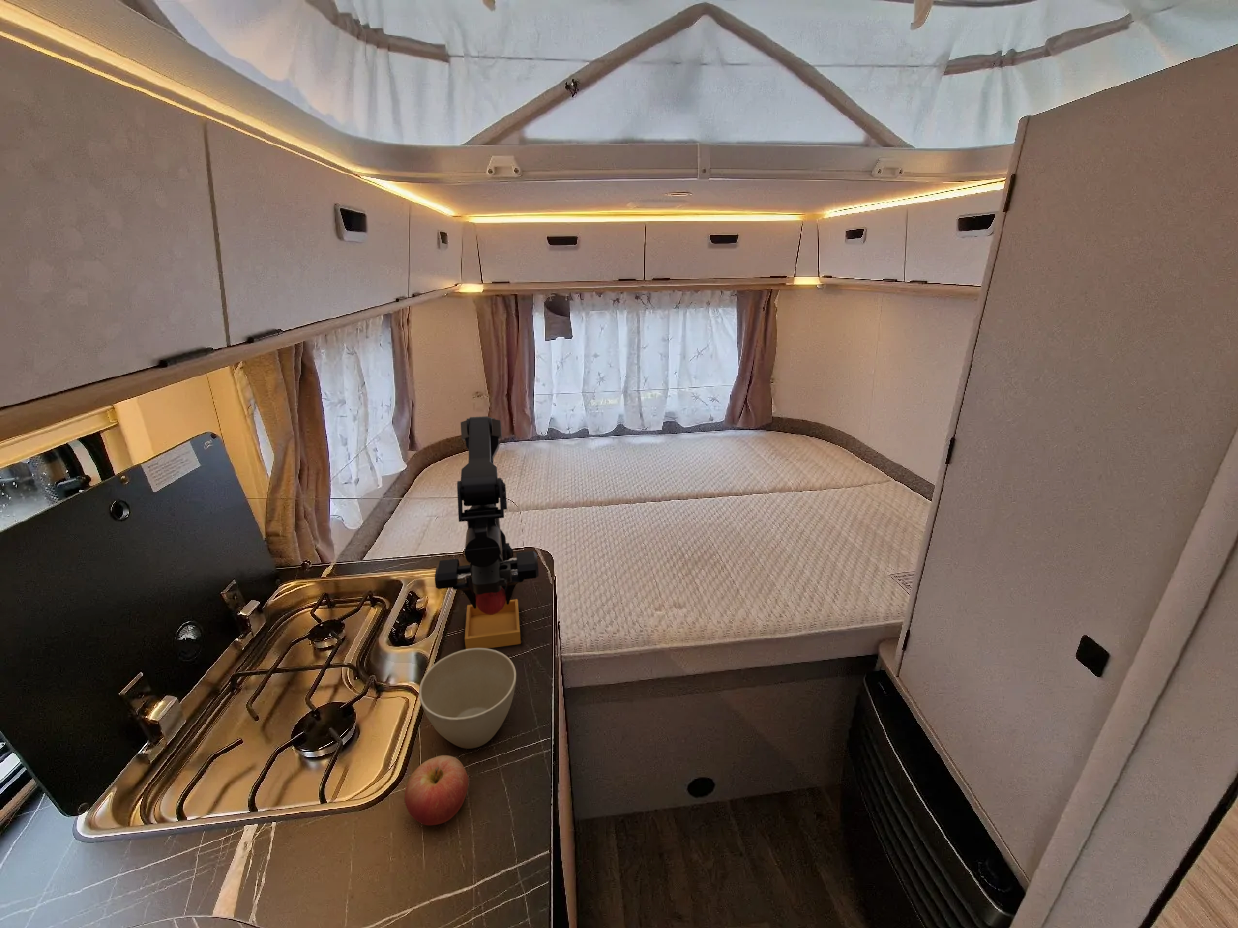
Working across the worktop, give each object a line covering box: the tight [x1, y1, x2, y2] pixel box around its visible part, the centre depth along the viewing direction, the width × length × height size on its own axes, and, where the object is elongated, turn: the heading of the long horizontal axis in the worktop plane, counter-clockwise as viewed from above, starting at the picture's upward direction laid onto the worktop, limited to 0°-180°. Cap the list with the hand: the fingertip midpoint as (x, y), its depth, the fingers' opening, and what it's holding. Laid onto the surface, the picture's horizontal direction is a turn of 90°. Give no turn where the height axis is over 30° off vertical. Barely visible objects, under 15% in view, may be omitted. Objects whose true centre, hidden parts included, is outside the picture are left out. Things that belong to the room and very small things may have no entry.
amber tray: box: [464, 598, 522, 649], centre depth 103 cm, size 10×10×3 cm
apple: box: [404, 754, 470, 826], centre depth 69 cm, size 8×8×8 cm
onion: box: [475, 587, 506, 615], centre depth 100 cm, size 6×6×8 cm
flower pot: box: [418, 648, 517, 750], centre depth 80 cm, size 14×14×10 cm
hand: (491, 605), depth 101 cm, fingers closed on onion, 6 cm apart
